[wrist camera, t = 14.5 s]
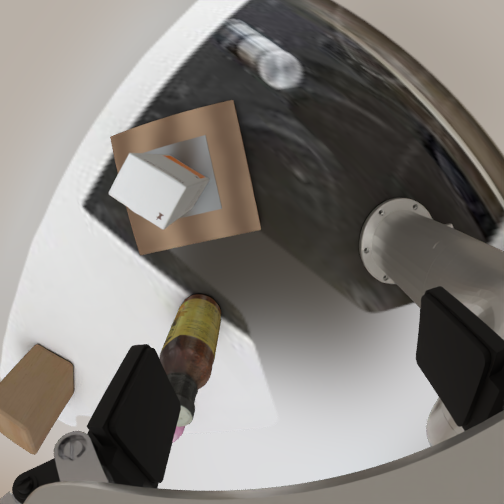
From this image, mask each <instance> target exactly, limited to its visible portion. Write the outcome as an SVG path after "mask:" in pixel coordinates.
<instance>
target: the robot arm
mask: <svg viewBox="0 0 504 504" xmlns="http://www.w3.org/2000/svg"><path fill="white" fill-rule="evenodd" d="M413 205H414V206H413ZM379 211H381V212H380V213H379ZM365 248H366V249H365ZM364 249H365V250H364ZM359 252H360V256H361V260H362V262H363V264H364V266H365V268H366V269H367V271H368V272H369V273H370V274H371V275H372V276H373V277H374V278H376V279H377V280H379V281H381V282H383V283H388V284H397V285H398V286H399V287H400V288H401V289H402V290H403V291H404V292H405V293H406V294H407V295H408V296H409V297H410V298H411V299H412V300H413V301H414V302H415V303H416V304H417V305H418V306H419V307H420V322H419V333H418V343H417V351H416V360H417V364H418V366H419V367H420V368H421V370H422V372H423V373H424V375H425V376H426V378H427V379H428V381H429V382H430V384H431V385H432V387H433V388H434V390H435V391H436V393H437V394H438V396H439V398H438V400H437V401H436V403H435V404H434V406H433V408H432V410H431V412H430V415H429V417H428V421H427V427H426V429H427V430H426V432H427V438H428V441H429V443H430V445H431V447H429V448H427V449H424V450H422V451H419V452H417V453H414V454H412V455H409V456H406V457H403V458H401V459H398V460H395V461H392V462H389V463H386V464H382V465H379V466H376V467H372V468H369V469H366V470H362V471H359V472H355V473H351V474H346V475H342V476H338V477H333V478H329V479H324V480H319V481H313V482H308V483H302V484H295V485H289V486H281V487H272V488H262V489H250V490H231V491H190V490H171V489H157V487H158V483H161V482H162V481H163V478H164V474H165V469H166V465H167V462H168V457H169V453H170V450H171V446H172V442H173V438H174V434H175V430H176V426H177V422H178V419H179V415H180V411H181V404H180V401H179V399H178V397H177V395H176V393H175V391H174V389H173V387H172V385H171V383H170V381H169V378H168V376H167V374H166V372H165V370H164V368H163V366H162V364H161V361H160V359H159V357H158V355H157V353H156V351H155V349H154V348H151V347H150V346H149V345H147V344H144V345H134V346H132V347H131V348H130V350H129V351H128V353H127V355H126V357H125V358H124V360H123V362H122V363H121V365H120V367H119V369H118V370H117V372H116V374H115V376H114V377H113V379H112V381H111V383H110V384H109V386H108V388H107V390H106V392H105V393H104V395H103V397H102V399H101V401H100V402H99V404H98V406H97V408H96V410H95V412H94V413H93V415H92V417H91V419H90V421H89V423H88V425H87V427H88V429H89V432H88V434H86V433H84V432H81V431H73V432H70V433H68V434H65V435H64V436H62V437H61V438H60V439H59V440H58V442H57V443H56V445H55V448H54V457H55V458H54V459H52V460H50V461H48V462H46V463H44V464H42V465H40V466H37V467H35V468H33V469H31V470H29V471H27V472H24V473H22V474H21V475H19V476H18V477H17V478H16V480H15V481H14V483H13V487H12V491H13V494H12V493H10V492H8V493H7V494H5V495H4V496H3V497H2V498H1V499H0V504H504V251H502V250H500V249H497V248H495V247H493V246H490V245H488V244H486V243H484V242H482V241H480V240H477V239H475V238H473V237H471V236H469V235H467V234H465V233H462V232H460V231H458V230H456V229H453V225H452V224H451V223H448V224H442V223H440V222H437V221H435V220H433V219H432V217H431V215H430V213H429V212H428V211H427V209H426V208H425V207H424V206H423V205H421V204H420V203H419V202H416V201H414V200H412V199H408V198H393V199H390V200H387V201H385V202H383V203H381V204H380V205H378V206H377V207H376V208H375V209H374V210H373V211H372V212H371V213H370V215H369V216H368V217H367V219H366V221H365V223H364V225H363V227H362V230H361V234H360V240H359Z"/></svg>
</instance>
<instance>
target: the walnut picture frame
mask: <svg viewBox="0 0 504 504" xmlns="http://www.w3.org/2000/svg"><path fill="white" fill-rule="evenodd" d="M110 138H111V143H112V148H113V153H114V158H115V162H116V167H117V171H118V173H119V171H120V169H121V167H122V166H123V164H124V162H125V160H126V158H127V157H128V155H129V153H146V154H164V155H171V156H172V157H174V158H176V159H177V160H179V161H180V162H182V163H183V164H185V165H187V166H188V167H190V168H192V169H193V170H195V171H197V172H198V173H200V174H202V175H203V176H205V177H207V178H209V182H208V183H207V185H206V186H205V188H204V190H203V191H202V193H201V195H200V197H199V198H198V200H197V201H196V203H195V204H194V206H193V208H192V209H191V210H189V211H188V212H186V213H185V214H184V215H182V216H181V217H180V218H178V219H177V220H176V221H174V222H173V223H172V224H170V225H169V226H168V227H167V228H165V229H164V230H163V229H161V228H159V227H158V226H156V225H155V224H153V223H151V222H150V221H148V220H147V219H145V218H143V217H142V216H140V215H138V214H136V213H135V212H133V211H132V210H130V209H129V208H128V207H127V206H126V208H127V212H128V215H129V219H130V223H131V226H132V230H133V233H134V237H135V240H136V243H137V247H138V250H139V253H140V255H144V254H148V253H153V252H157V251H162V250H167V249H171V248H176V247H180V246H185V245H190V244H194V243H199V242H204V241H209V240H214V239H218V238H223V237H228V236H233V235H238V234H242V233H248V232H253V231H258V230H261V224H260V219H259V214H258V210H257V205H256V200H255V195H254V191H253V186H252V181H251V177H250V172H249V167H248V163H247V158H246V153H245V149H244V144H243V140H242V135H241V131H240V126H239V121H238V117H237V112H236V108H235V104H234V101H233V100H230V101H226V102H221V103H217V104H213V105H209V106H205V107H201V108H197V109H193V110H190V111H186V112H183V113H179V114H176V115H172V116H169V117H166V118H162V119H159V120H156V121H153V122H150V123H147V124H144V125H141V126H138V127H135V128H133V129H130V130H127V131H124V132H122V133H119V134H116V135H114V136H111V137H110Z"/></svg>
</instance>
